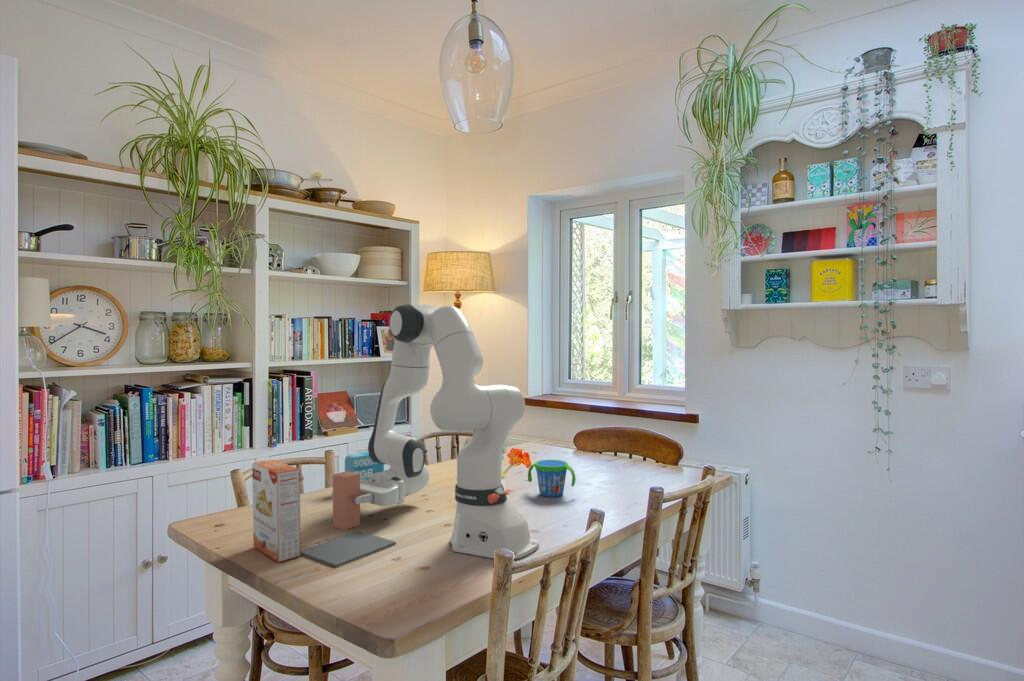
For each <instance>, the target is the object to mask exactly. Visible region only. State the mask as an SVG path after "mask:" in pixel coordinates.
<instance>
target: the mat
mask: <svg viewBox="0 0 1024 681" xmlns="http://www.w3.org/2000/svg"><path fill="white" fill-rule="evenodd" d="M392 545H393V546H395V545H397V542H396V541H394V540H391V539H389V538H388V539H387V538H383V537H380V536H376V535H374V534H371V533H367V532H364V531H361V530H356V531H353V532H350V533H347V534H344V535H342V536H338V537H336V538H333V539H329V540H326V541H323V542H319V543H318V544H316V545H311V546H310V547H305V548H304V549H303V548H302V549H301V556H303V555H304V556H303V557H306V556H307V557H306V558H309V557H310V558H309V559H311V558H313V559H312V560H314V559H316V560H315V561H317V560H318V562H320V561H321V563H322V562H324V563H323V564H325V563H327V564H326V565H328V564H329V566H331V565H332V567H334V566H335V567H334V568H339V567H341V566H344V565H345V563H346V564H349V563H351V562H350V561H352V562H354V561H356V560H355V559H357V560H359V559H362V558H364V557H366V555H367V556H369V555H368V554H370V555H372V554H374V553H373V552H375V553H377V552H379V550H380V551H382V550H385V549H387V547H388V548H390V547H392ZM384 548H385V549H384ZM376 551H377V552H376ZM371 553H372V554H371ZM363 556H364V557H363ZM361 557H362V558H361ZM358 558H359V559H358ZM353 560H354V561H353ZM348 562H349V563H348ZM343 564H344V565H343ZM340 565H341V566H340ZM338 566H339V567H338Z"/></svg>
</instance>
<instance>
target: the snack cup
mask: <svg viewBox="0 0 1024 681" xmlns="http://www.w3.org/2000/svg"><path fill="white" fill-rule="evenodd" d="M533 468H535V471H536V477H537V482H538V483H537V484H538V485H537V486H538V490H539V493H540V495H542V496H543V497H549V498H550V497H551V498H552V497H553V498H555V497H560V496H563V494H564V490H565V484H566V476H567V470H568V471H569V472H570V473H571V477H572V478H571V487H575V484H576V480H577V478H576V474H575V471H574V469H573V468H572V467H571V466H570V465H569V464H568V462H567V461H565V460H560V459H559V460H558V459H542V460H538V461H536V462H535V463H533V464H531V465H530V467H529V469H528V472H527V480H528V482H529V483H531V482H532V481H533V479H532V470H533Z"/></svg>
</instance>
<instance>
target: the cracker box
mask: <svg viewBox="0 0 1024 681" xmlns="http://www.w3.org/2000/svg"><path fill="white" fill-rule="evenodd" d="M251 464H252V466H251V469H252V474H251V476H252V520H253V521H252V522H253V523H252V527H253V530H252V531H253V537H252V538H253V547H254V548H255V549H257V550H259V551H260V553H261V552H262V553H263V554H265V555H266V556H267V557H269V558H270V559H272V561H273V560H274V561H275V562H276V561H277V562H276V563H278V562H279V563H283V562H286V561H288V560H289V559H290V560H293V559H296V557H297V558H300V557H301V556H302V555H301V550H302V547H301V544H302V543H301V542H302V541H301V538H302V537H301V536H302V534H301V470H300V468H298V467H295V466H293V465H289V464H287V463H284V462H281V461H279V460H276V459H269V460H260V461H256V462H253V463H251ZM282 561H283V562H282Z"/></svg>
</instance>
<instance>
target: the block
mask: <svg viewBox="0 0 1024 681" xmlns="http://www.w3.org/2000/svg"><path fill="white" fill-rule="evenodd" d="M332 492H333V498H332V527H333V526H334V528H336V527H337V529H340V528H341V529H340V530H343V529H344V531H347V530H349V528H350V529H353V528H357V527H358V526H360V525H361V503H360V504H355V503H353V497H355V496H360V474H359V473H355V472H350V471H346V472H345V471H343V472H338V473H334V474H332ZM352 527H353V528H352ZM346 529H347V530H346Z"/></svg>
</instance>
